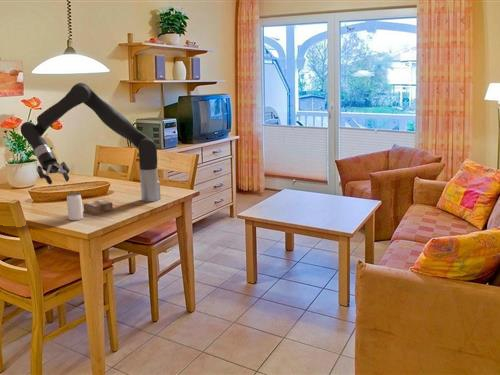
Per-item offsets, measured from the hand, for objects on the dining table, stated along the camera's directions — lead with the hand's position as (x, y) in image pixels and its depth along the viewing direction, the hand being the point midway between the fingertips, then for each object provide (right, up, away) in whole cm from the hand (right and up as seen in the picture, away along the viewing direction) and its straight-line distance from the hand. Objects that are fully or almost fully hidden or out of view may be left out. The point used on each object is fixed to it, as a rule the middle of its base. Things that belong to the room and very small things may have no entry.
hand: (59, 181), depth 232 cm
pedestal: (+16, -14, +8) cm, 23 cm away
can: (+9, -18, -4) cm, 20 cm away
